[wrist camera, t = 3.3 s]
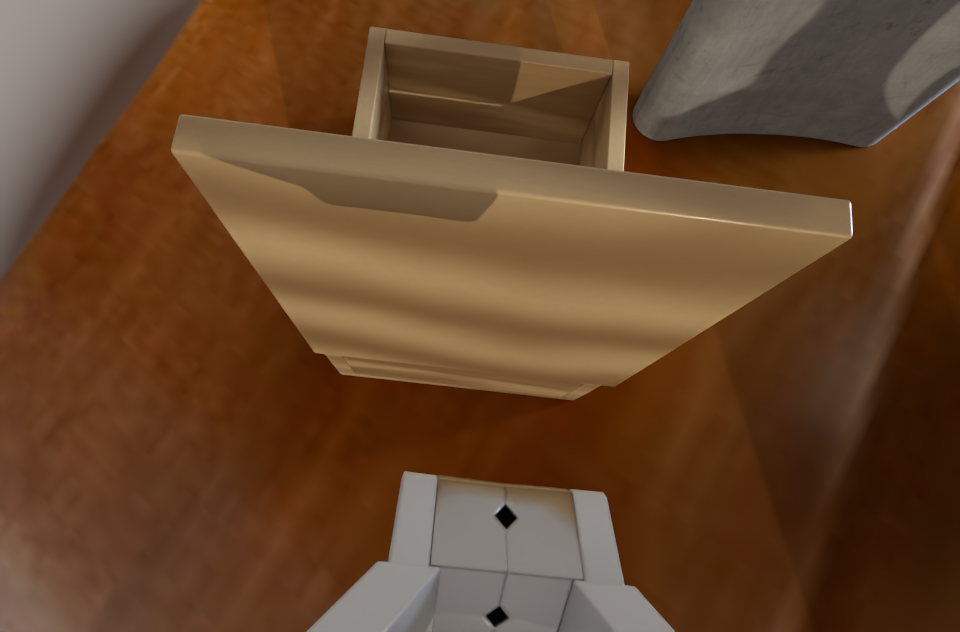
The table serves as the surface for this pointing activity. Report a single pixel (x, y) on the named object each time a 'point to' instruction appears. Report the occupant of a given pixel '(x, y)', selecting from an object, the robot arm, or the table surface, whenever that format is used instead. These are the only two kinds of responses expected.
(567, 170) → the lid
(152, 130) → the table surface
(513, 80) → the keepsake box
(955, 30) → the hip flask
